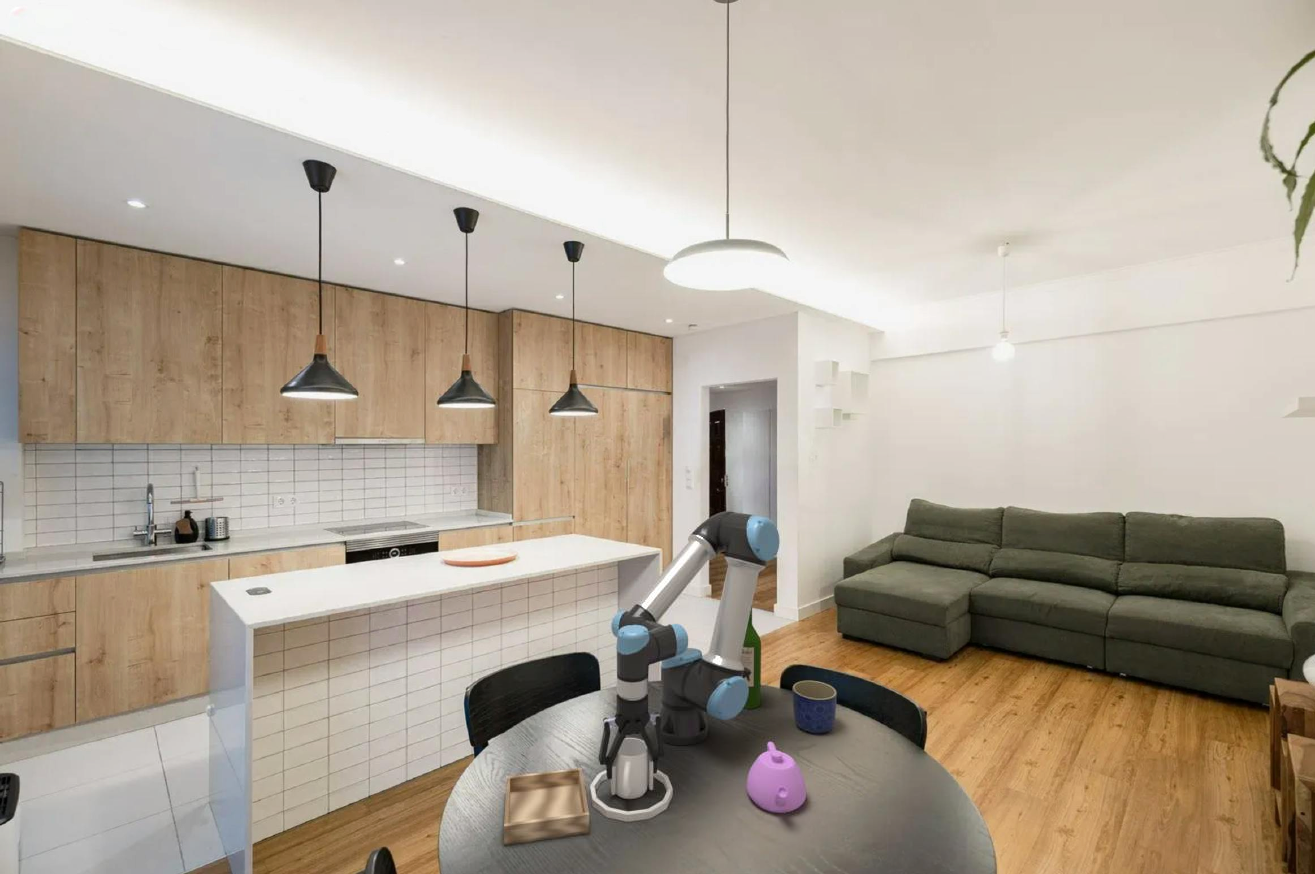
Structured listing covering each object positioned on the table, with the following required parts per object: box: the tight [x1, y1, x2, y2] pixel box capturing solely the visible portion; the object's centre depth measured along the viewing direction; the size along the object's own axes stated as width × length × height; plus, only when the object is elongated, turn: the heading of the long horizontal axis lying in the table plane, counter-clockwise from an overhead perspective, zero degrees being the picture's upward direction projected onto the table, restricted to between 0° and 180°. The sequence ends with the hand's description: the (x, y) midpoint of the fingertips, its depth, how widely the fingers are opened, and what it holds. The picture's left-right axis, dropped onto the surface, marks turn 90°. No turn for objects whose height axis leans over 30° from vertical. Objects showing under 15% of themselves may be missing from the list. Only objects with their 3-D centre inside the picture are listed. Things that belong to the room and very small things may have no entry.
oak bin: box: [503, 767, 590, 846], centre depth 131 cm, size 18×18×4 cm
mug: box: [614, 737, 649, 800], centre depth 138 cm, size 12×8×10 cm
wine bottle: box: [740, 605, 762, 710], centre depth 184 cm, size 9×9×32 cm
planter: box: [792, 680, 838, 734], centre depth 170 cm, size 12×12×11 cm
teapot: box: [746, 741, 807, 814], centre depth 136 cm, size 14×20×11 cm
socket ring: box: [589, 769, 674, 823], centre depth 138 cm, size 19×19×2 cm
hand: (631, 788), depth 138 cm, fingers closed on mug, 8 cm apart
